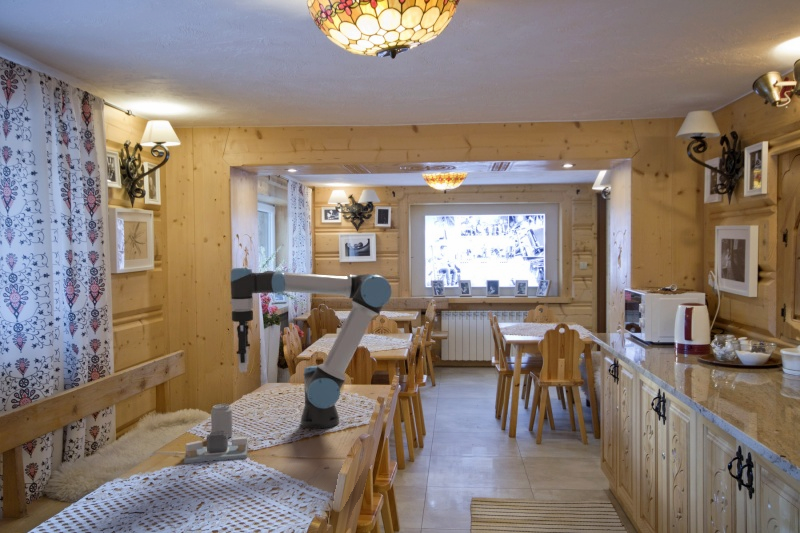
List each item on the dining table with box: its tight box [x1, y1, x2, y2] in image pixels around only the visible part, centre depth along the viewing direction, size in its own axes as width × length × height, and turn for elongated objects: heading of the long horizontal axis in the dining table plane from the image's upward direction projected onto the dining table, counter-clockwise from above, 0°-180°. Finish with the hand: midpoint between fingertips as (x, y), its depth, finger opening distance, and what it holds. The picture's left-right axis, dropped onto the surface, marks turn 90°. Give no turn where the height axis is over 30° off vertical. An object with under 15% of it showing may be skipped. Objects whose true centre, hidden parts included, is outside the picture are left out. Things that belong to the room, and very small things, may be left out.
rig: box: [183, 436, 249, 465], centre depth 206 cm, size 20×12×5 cm, turn 102°
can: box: [210, 403, 233, 439], centre depth 225 cm, size 8×8×12 cm
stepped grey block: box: [206, 431, 229, 453], centre depth 206 cm, size 7×4×6 cm
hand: (244, 368), depth 220 cm, fingers open, 13 cm apart
